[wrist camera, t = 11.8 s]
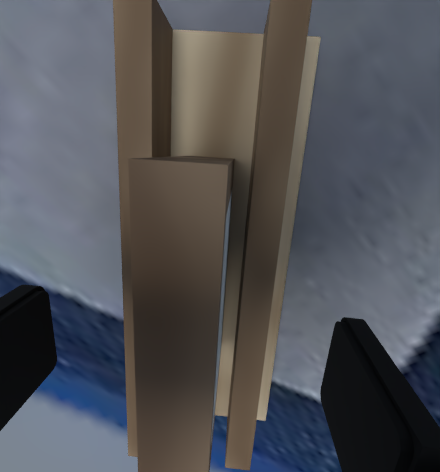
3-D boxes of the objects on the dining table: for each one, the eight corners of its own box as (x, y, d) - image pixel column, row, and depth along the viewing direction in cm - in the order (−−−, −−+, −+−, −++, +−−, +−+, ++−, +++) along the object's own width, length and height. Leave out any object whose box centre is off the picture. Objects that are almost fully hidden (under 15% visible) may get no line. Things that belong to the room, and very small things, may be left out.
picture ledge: (310, 51, 16) (346, -1, 10) (263, 397, 22) (270, 472, 17) (132, 42, 16) (80, -13, 11) (138, 384, 23) (108, 453, 18)
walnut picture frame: (234, 158, 16) (228, 165, 7) (221, 344, 19) (206, 503, 10) (189, 155, 16) (128, 158, 7) (184, 341, 19) (138, 495, 10)
